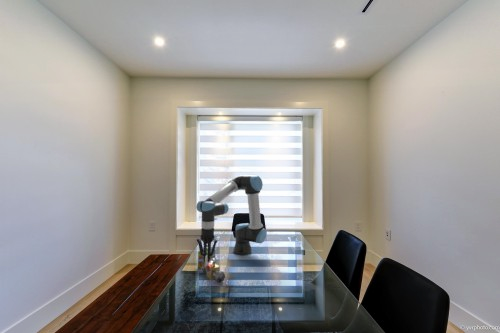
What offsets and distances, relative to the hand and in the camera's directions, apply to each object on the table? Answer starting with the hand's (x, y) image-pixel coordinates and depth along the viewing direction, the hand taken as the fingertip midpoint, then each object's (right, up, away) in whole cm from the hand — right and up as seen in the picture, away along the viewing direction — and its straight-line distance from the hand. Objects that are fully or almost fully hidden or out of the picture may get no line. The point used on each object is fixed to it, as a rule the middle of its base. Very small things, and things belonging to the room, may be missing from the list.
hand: (206, 266), depth 133 cm
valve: (+3, -10, +7) cm, 13 cm away
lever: (+2, -1, +2) cm, 3 cm away
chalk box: (-4, -10, +22) cm, 25 cm away
